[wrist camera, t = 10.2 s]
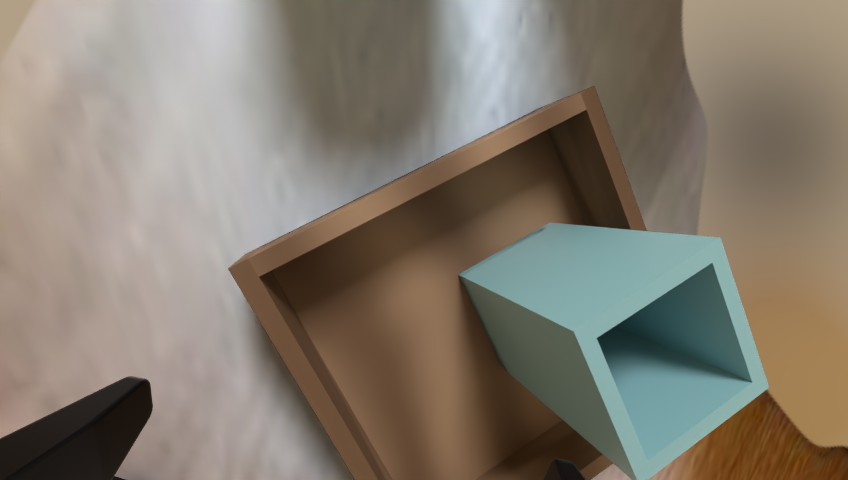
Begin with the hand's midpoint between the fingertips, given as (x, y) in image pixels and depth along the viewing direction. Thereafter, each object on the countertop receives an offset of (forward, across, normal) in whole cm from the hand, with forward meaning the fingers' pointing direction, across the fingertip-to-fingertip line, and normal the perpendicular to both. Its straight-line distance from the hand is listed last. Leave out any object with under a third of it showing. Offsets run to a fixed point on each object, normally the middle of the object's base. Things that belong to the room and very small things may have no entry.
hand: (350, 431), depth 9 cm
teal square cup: (+14, -7, +3) cm, 16 cm away
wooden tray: (+13, -4, +5) cm, 15 cm away
